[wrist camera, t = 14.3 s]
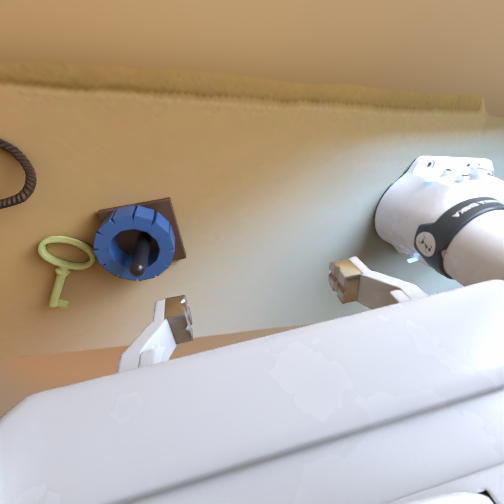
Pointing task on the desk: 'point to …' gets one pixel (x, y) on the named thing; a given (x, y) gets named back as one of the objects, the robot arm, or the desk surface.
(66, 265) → the key
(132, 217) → the ring
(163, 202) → the peg stand
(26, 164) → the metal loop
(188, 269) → the desk surface
